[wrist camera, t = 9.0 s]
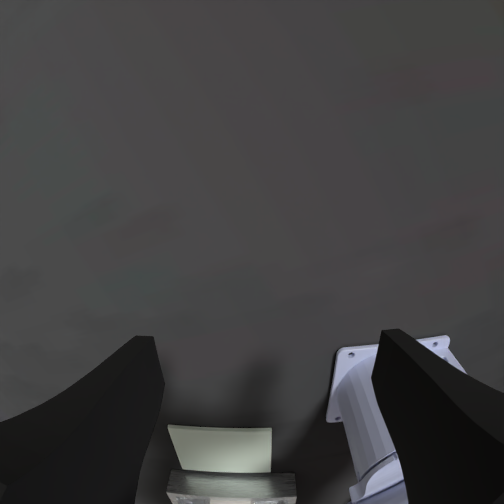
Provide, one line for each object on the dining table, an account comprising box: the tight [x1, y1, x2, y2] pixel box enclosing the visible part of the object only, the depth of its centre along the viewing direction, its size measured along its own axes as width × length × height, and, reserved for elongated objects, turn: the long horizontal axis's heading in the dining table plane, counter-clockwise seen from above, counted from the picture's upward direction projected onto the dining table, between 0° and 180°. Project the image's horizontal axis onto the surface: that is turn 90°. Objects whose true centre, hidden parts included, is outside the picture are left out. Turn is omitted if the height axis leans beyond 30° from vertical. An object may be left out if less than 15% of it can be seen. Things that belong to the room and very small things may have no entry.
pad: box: [168, 424, 272, 473], centre depth 25 cm, size 9×8×1 cm
